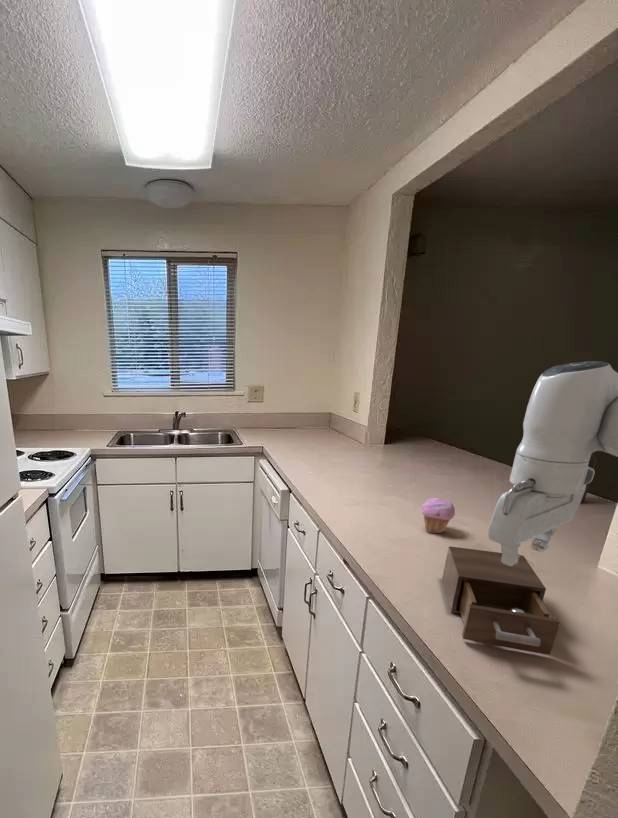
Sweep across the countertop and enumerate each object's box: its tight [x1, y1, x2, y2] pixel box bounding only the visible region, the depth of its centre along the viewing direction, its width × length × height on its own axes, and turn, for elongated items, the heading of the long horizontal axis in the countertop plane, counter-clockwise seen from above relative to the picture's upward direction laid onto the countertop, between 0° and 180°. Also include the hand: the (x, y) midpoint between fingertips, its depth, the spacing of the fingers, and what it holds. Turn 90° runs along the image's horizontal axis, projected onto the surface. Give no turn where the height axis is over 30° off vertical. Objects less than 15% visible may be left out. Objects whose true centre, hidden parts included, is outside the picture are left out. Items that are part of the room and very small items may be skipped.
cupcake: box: [420, 497, 456, 534], centre depth 126 cm, size 9×9×10 cm
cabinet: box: [441, 545, 547, 616], centre depth 91 cm, size 15×15×9 cm
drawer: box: [457, 580, 561, 656], centre depth 80 cm, size 18×13×7 cm
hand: (524, 556), depth 70 cm, fingers open, 8 cm apart
